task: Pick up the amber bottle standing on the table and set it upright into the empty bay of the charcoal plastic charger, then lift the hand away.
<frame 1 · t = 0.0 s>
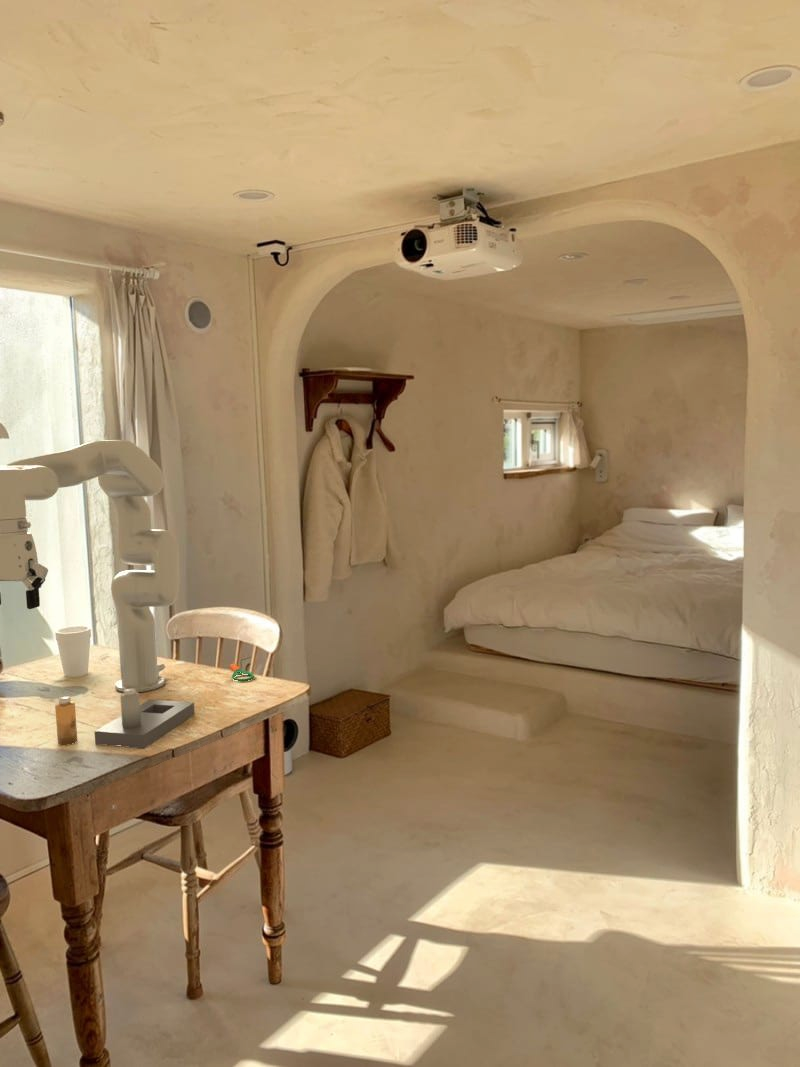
hand: (14, 607, 173), 31 cm above the table, tool pointing down, fingers open, 9 cm apart
foam cup: (76, 674, 233), on the table
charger: (147, 728, 187), on the table
magnifying glass: (239, 676, 229), on the table
amber bottle: (67, 742, 180), on the table
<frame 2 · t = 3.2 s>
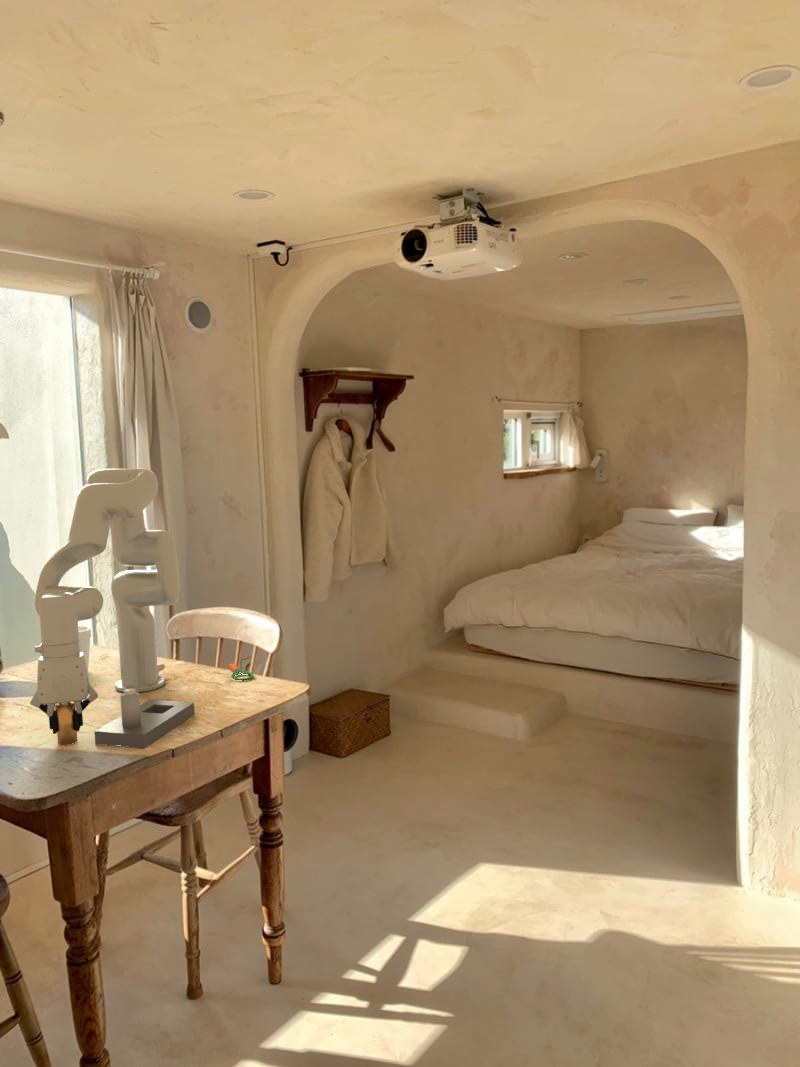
hand: (66, 729, 179), 3 cm above the table, tool pointing down, fingers closed on amber bottle, 4 cm apart
amber bottle: (67, 742, 180), on the table, touching gripper
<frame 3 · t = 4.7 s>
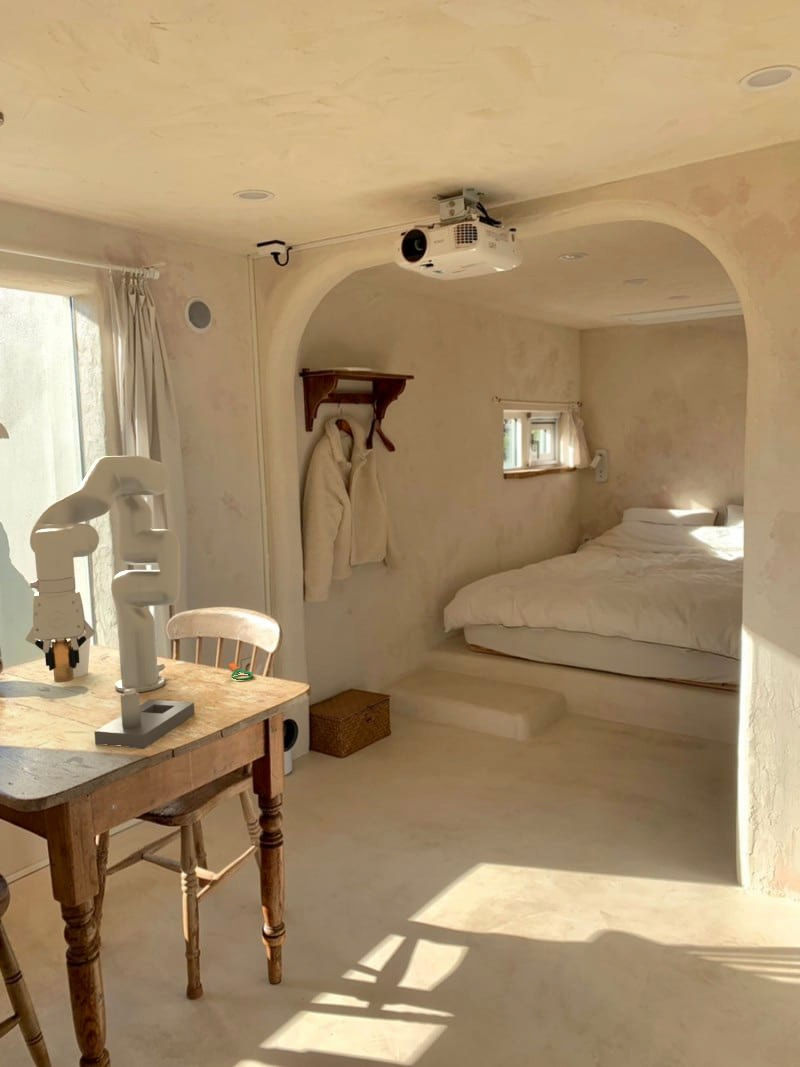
hand: (63, 666, 178), 17 cm above the table, tool pointing down, fingers closed on amber bottle, 4 cm apart
amber bottle: (64, 679, 179), point 14 cm above the table, touching gripper
everything else where it was.
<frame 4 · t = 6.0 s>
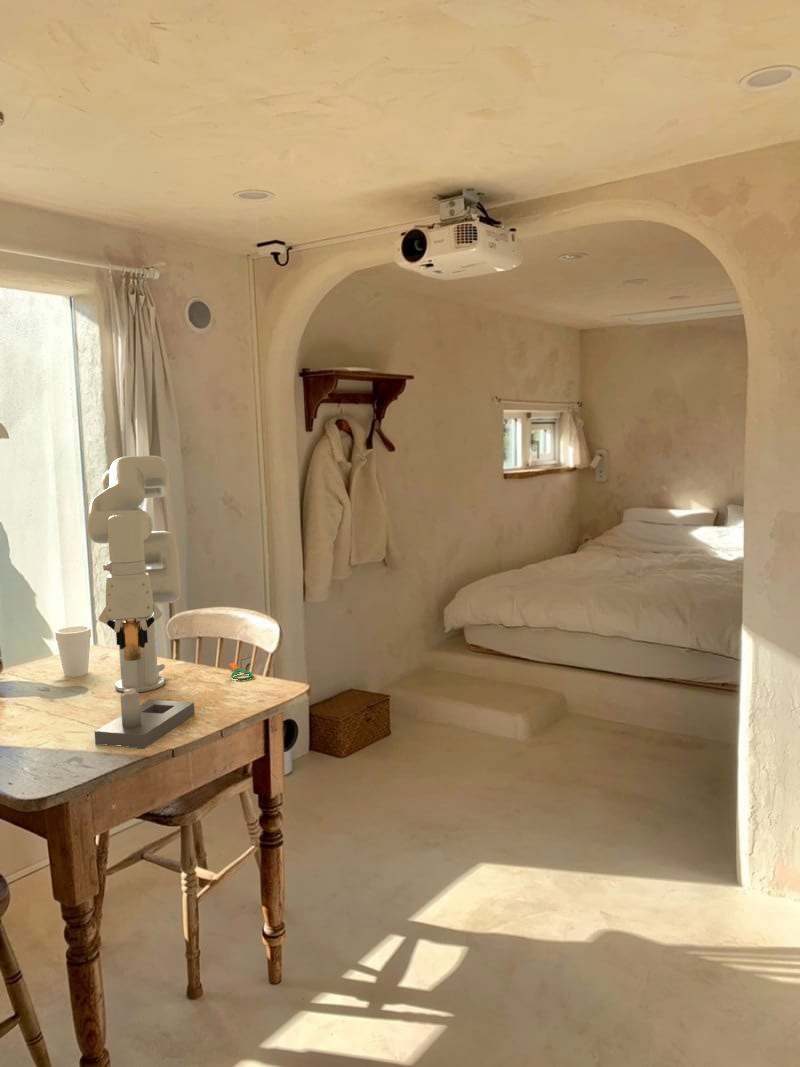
hand: (132, 646, 187), 19 cm above the table, tool pointing down, fingers closed on amber bottle, 4 cm apart
amber bottle: (133, 658, 187), point 16 cm above the table, touching gripper
everything else where it was.
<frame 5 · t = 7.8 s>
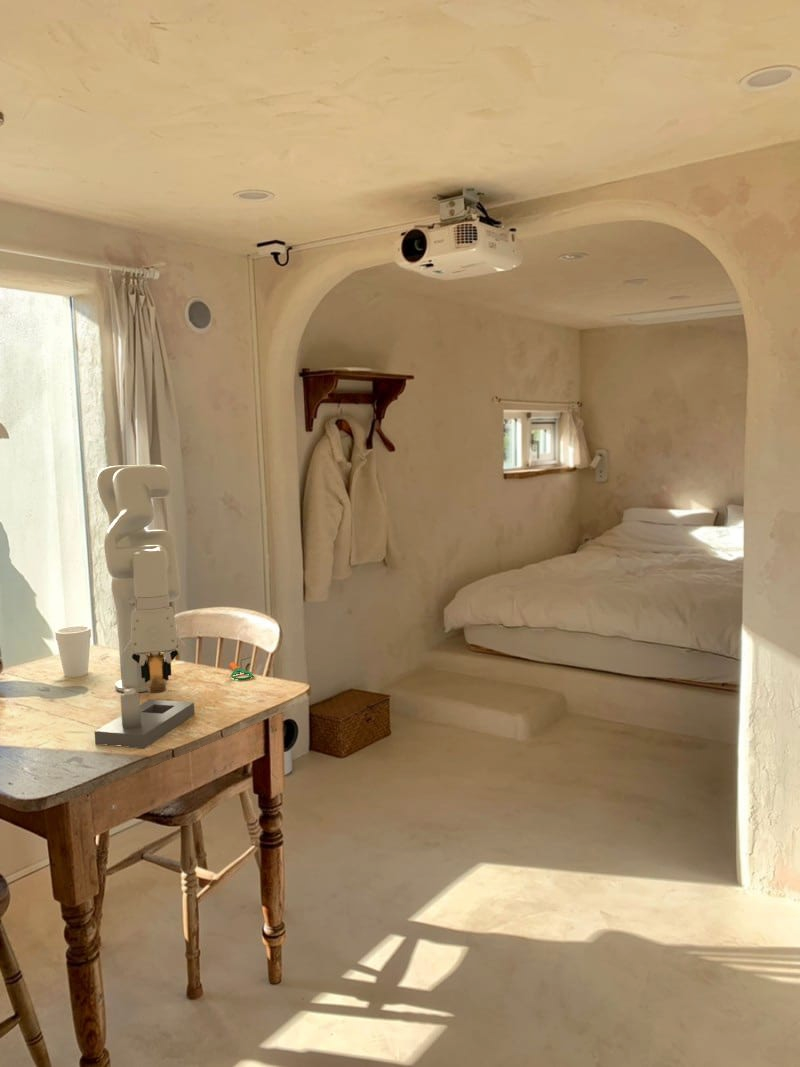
hand: (156, 679, 190), 10 cm above the table, tool pointing down, fingers closed on amber bottle, 4 cm apart
amber bottle: (157, 690, 191), point 8 cm above the table, touching gripper
when the fingers open (4 cm above the table, at t = 9.4 s): amber bottle drops 1 cm, resting in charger.
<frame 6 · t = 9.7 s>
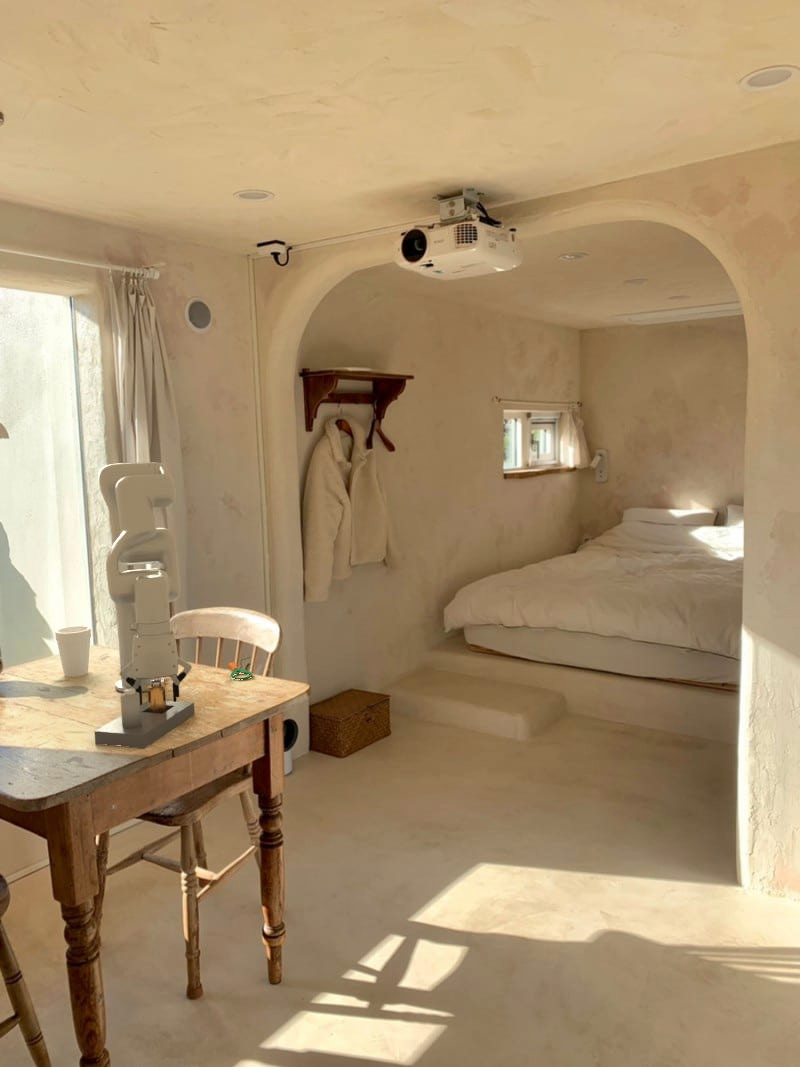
hand: (157, 701, 191), 5 cm above the table, tool pointing down, fingers open, 7 cm apart
amber bottle: (158, 721, 192), resting in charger
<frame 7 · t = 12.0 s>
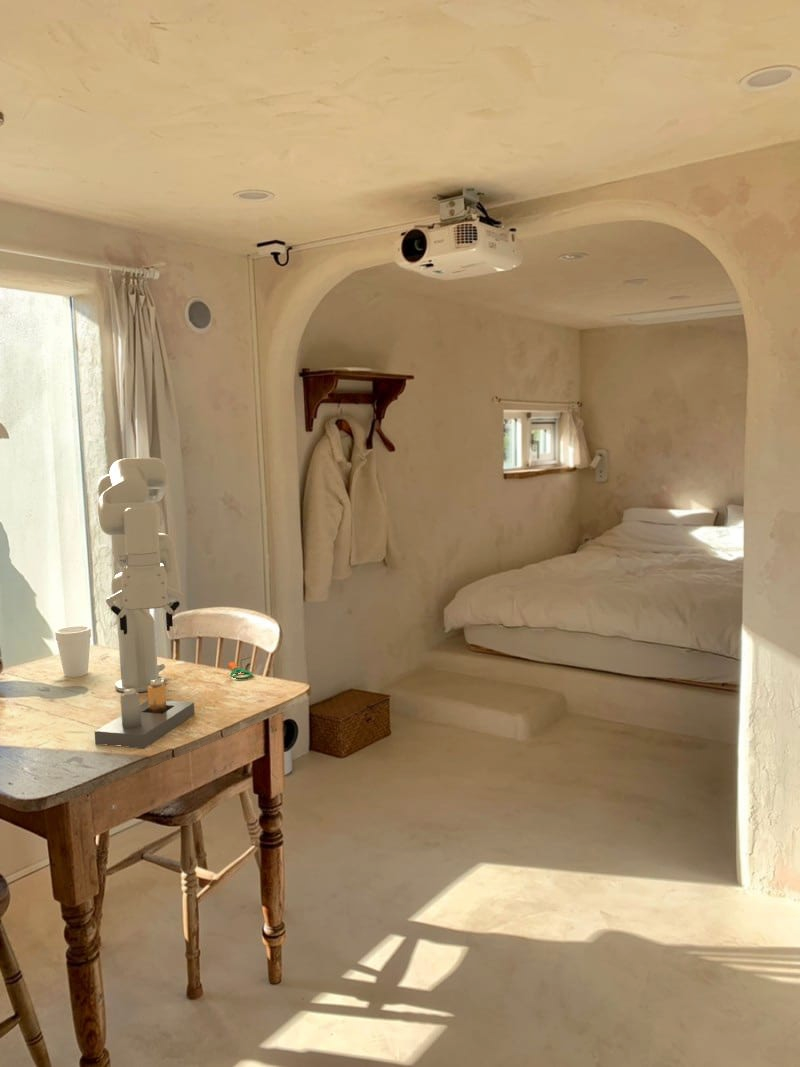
hand: (147, 631, 191), 21 cm above the table, tool pointing down, fingers open, 9 cm apart
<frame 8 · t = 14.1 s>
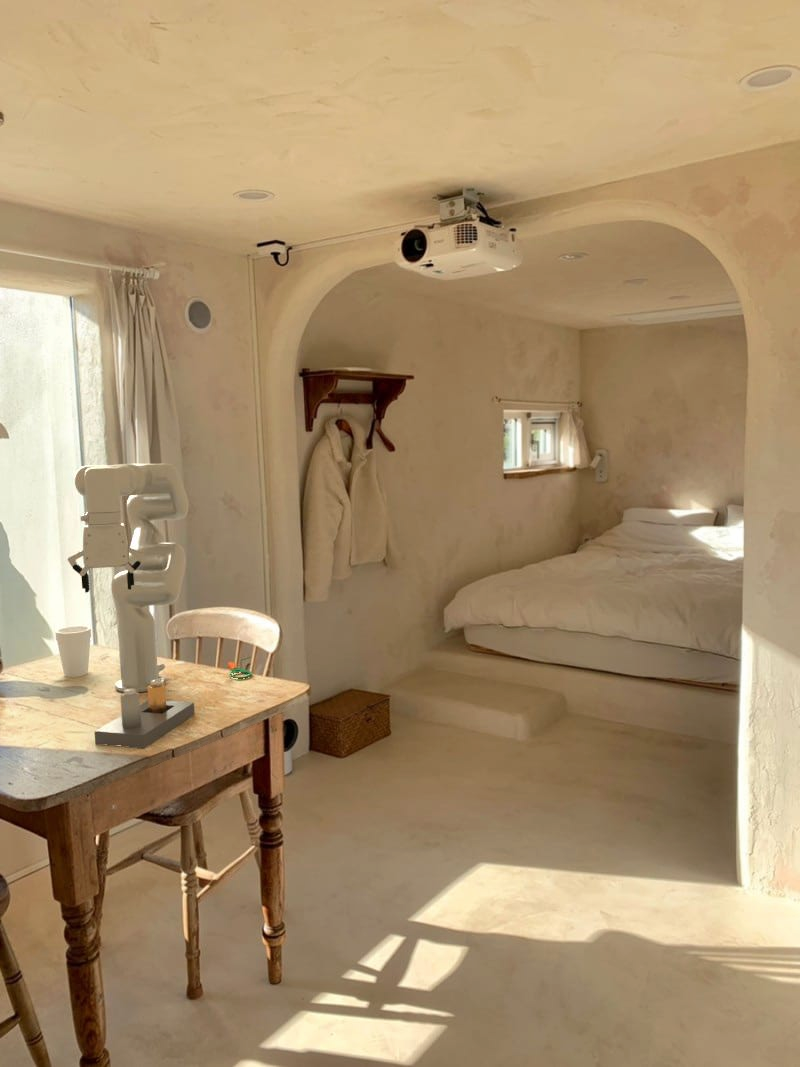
hand: (108, 590, 196), 30 cm above the table, tool pointing down, fingers open, 9 cm apart
at the end: amber bottle 0.1 cm from the target spot on the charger, point 0.0 cm above the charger's base; amber bottle tilted 1°; the gripper is holding nothing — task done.
